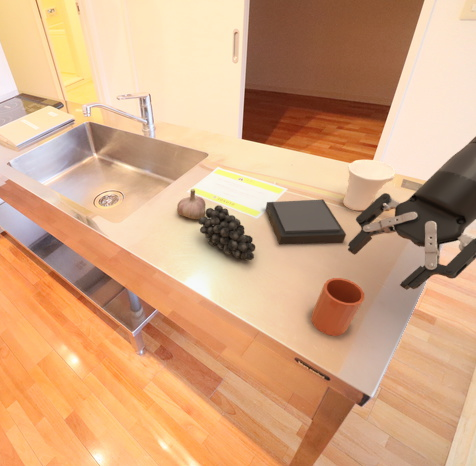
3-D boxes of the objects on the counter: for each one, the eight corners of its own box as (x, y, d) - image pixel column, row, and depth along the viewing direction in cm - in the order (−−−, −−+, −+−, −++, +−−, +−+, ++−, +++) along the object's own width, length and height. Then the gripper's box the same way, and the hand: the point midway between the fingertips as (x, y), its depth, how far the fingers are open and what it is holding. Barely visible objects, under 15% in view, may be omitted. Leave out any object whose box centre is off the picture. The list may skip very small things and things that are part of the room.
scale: (322, 207, 79) (325, 196, 77) (344, 242, 69) (349, 231, 67) (265, 209, 81) (267, 199, 79) (279, 244, 71) (281, 234, 69)
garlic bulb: (209, 220, 80) (211, 194, 75) (181, 225, 80) (180, 199, 75) (200, 203, 86) (201, 178, 81) (174, 208, 86) (173, 183, 81)
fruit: (266, 231, 61) (218, 194, 72) (231, 256, 61) (188, 215, 72) (270, 255, 68) (225, 217, 78) (238, 278, 67) (197, 237, 78)
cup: (362, 220, 73) (379, 183, 67) (327, 201, 80) (339, 165, 74) (389, 207, 75) (408, 170, 69) (353, 189, 82) (367, 154, 76)
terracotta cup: (339, 309, 57) (354, 277, 52) (352, 336, 53) (371, 304, 48) (306, 309, 58) (319, 278, 52) (317, 335, 54) (332, 305, 48)
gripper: (409, 153, 48) (328, 236, 53) (534, 199, 37) (419, 297, 42) (418, 173, 52) (343, 248, 57) (531, 219, 42) (428, 305, 47)
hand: (375, 269), depth 50 cm, fingers open, 8 cm apart
